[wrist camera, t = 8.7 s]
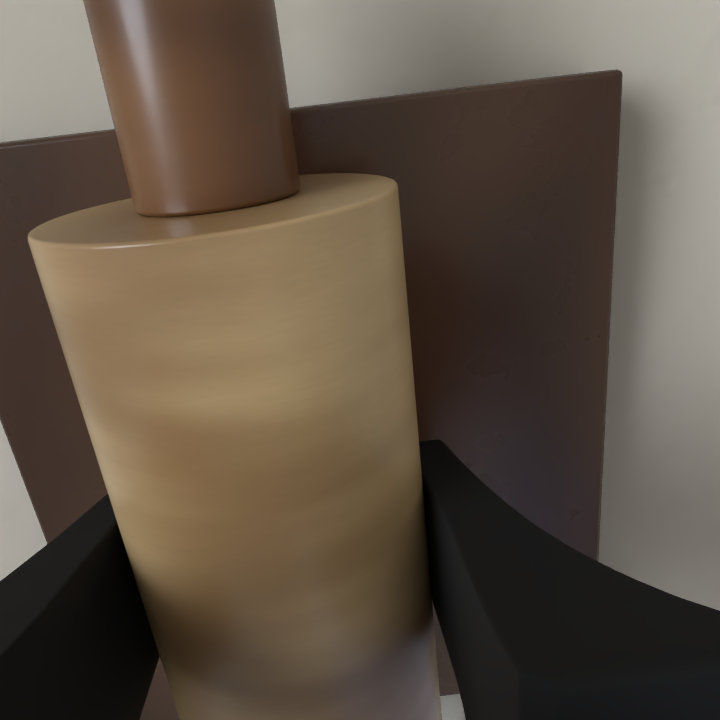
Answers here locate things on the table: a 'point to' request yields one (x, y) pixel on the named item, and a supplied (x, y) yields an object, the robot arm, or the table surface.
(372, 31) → the table surface
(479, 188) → the pastry board
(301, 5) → the table surface
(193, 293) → the rolling pin
